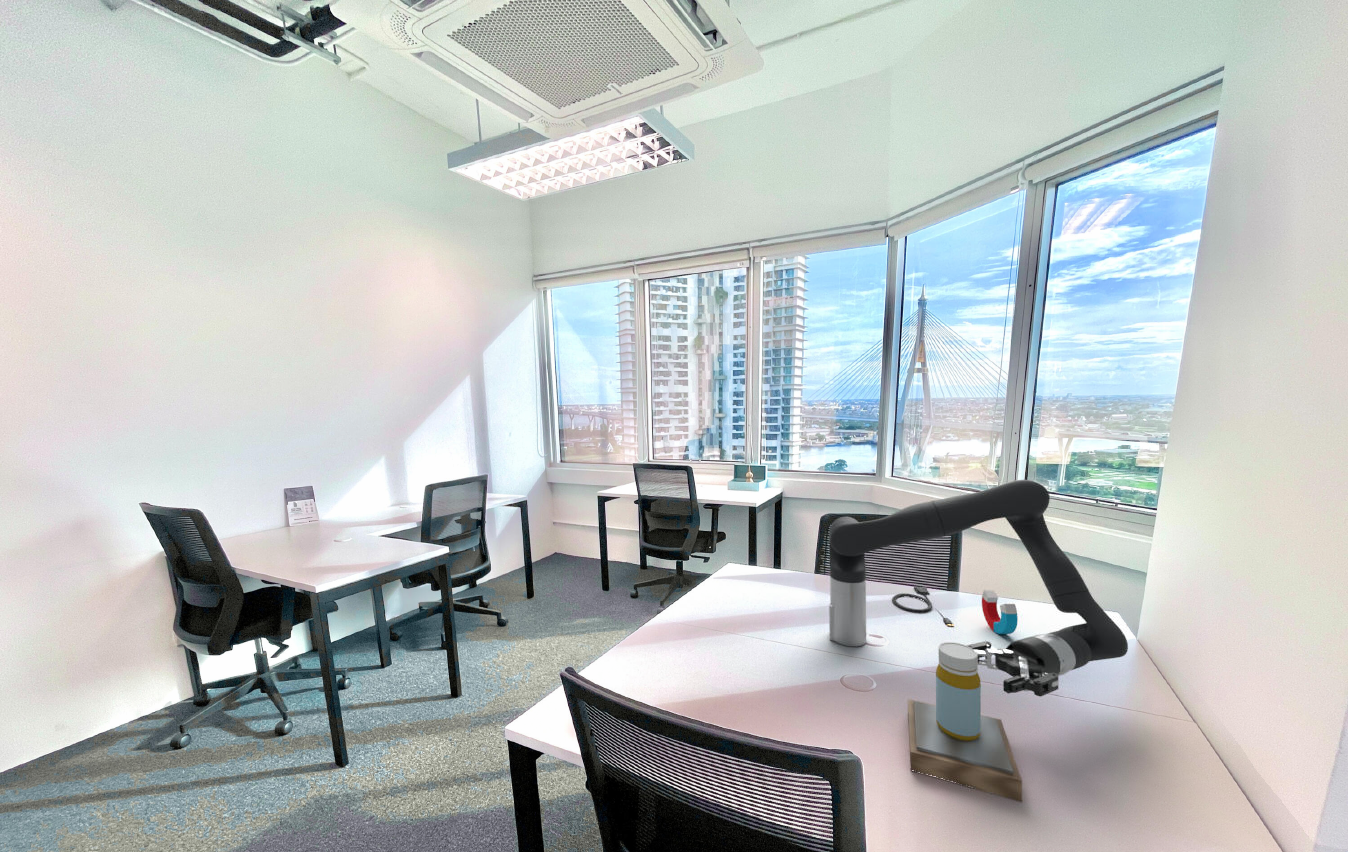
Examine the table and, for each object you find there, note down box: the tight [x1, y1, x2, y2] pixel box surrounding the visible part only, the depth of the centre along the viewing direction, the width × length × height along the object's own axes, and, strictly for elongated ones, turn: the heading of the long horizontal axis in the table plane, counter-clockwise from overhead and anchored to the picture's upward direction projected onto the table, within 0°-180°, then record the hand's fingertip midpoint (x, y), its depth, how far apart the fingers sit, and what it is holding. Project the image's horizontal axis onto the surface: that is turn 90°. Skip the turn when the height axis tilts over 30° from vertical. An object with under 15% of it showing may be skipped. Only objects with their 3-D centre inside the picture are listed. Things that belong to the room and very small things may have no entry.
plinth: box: [907, 699, 1023, 803], centre depth 86 cm, size 16×16×4 cm
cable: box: [891, 586, 955, 628], centre depth 149 cm, size 14×28×2 cm, turn 166°
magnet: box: [981, 589, 1019, 635], centre depth 130 cm, size 12×3×10 cm, turn 176°
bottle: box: [935, 641, 982, 741], centre depth 86 cm, size 7×7×15 cm
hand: (982, 674), depth 87 cm, fingers open, 8 cm apart
